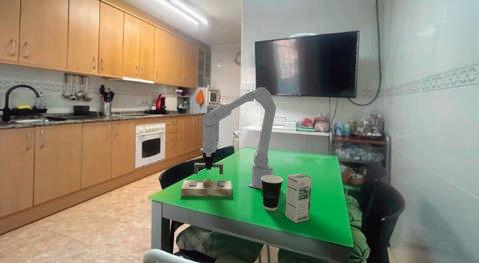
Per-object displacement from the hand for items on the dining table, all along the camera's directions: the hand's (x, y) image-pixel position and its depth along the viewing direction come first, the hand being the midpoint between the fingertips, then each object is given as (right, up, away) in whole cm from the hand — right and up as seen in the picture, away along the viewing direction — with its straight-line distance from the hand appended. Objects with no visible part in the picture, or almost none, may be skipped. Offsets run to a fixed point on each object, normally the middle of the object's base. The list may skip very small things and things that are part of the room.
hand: (208, 168), depth 113 cm
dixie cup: (+25, -11, -23) cm, 36 cm away
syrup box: (+33, -12, -30) cm, 47 cm away
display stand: (+1, -8, -10) cm, 13 cm away
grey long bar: (0, -2, 0) cm, 2 cm away
